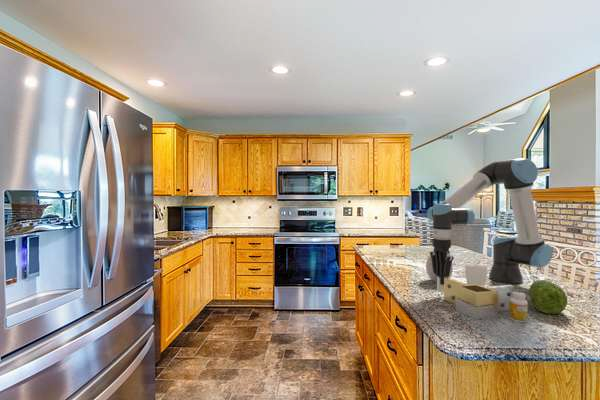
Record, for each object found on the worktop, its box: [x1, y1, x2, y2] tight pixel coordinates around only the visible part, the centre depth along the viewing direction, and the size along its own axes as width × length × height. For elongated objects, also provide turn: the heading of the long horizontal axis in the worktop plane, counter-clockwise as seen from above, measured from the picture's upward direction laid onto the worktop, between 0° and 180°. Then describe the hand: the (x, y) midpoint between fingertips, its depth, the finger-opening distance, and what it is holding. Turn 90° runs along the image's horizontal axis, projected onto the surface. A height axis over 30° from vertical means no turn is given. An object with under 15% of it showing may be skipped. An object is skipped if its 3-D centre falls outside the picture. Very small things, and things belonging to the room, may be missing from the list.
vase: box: [425, 254, 454, 284], centre depth 164 cm, size 13×13×17 cm
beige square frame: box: [443, 277, 498, 306], centre depth 126 cm, size 10×22×10 cm, turn 15°
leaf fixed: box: [454, 284, 516, 320], centre depth 122 cm, size 22×10×10 cm, turn 105°
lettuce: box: [528, 279, 568, 315], centre depth 126 cm, size 12×21×11 cm, turn 151°
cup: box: [464, 263, 488, 287], centre depth 148 cm, size 9×9×12 cm
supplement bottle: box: [508, 291, 529, 323], centre depth 114 cm, size 5×5×10 cm
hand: (440, 291), depth 139 cm, fingers closed
